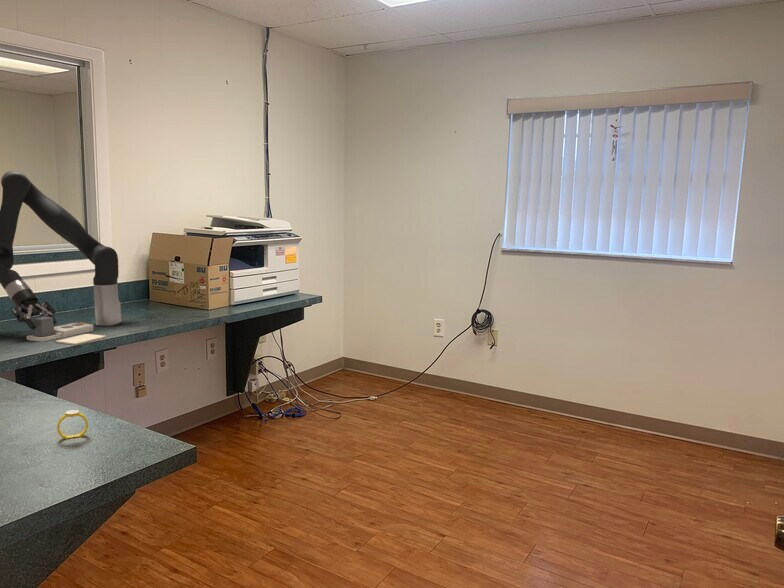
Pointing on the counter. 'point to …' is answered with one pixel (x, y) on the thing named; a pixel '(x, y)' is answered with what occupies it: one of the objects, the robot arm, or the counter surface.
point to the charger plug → (44, 327)
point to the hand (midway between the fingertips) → (45, 326)
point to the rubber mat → (80, 339)
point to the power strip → (64, 331)
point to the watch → (72, 414)
